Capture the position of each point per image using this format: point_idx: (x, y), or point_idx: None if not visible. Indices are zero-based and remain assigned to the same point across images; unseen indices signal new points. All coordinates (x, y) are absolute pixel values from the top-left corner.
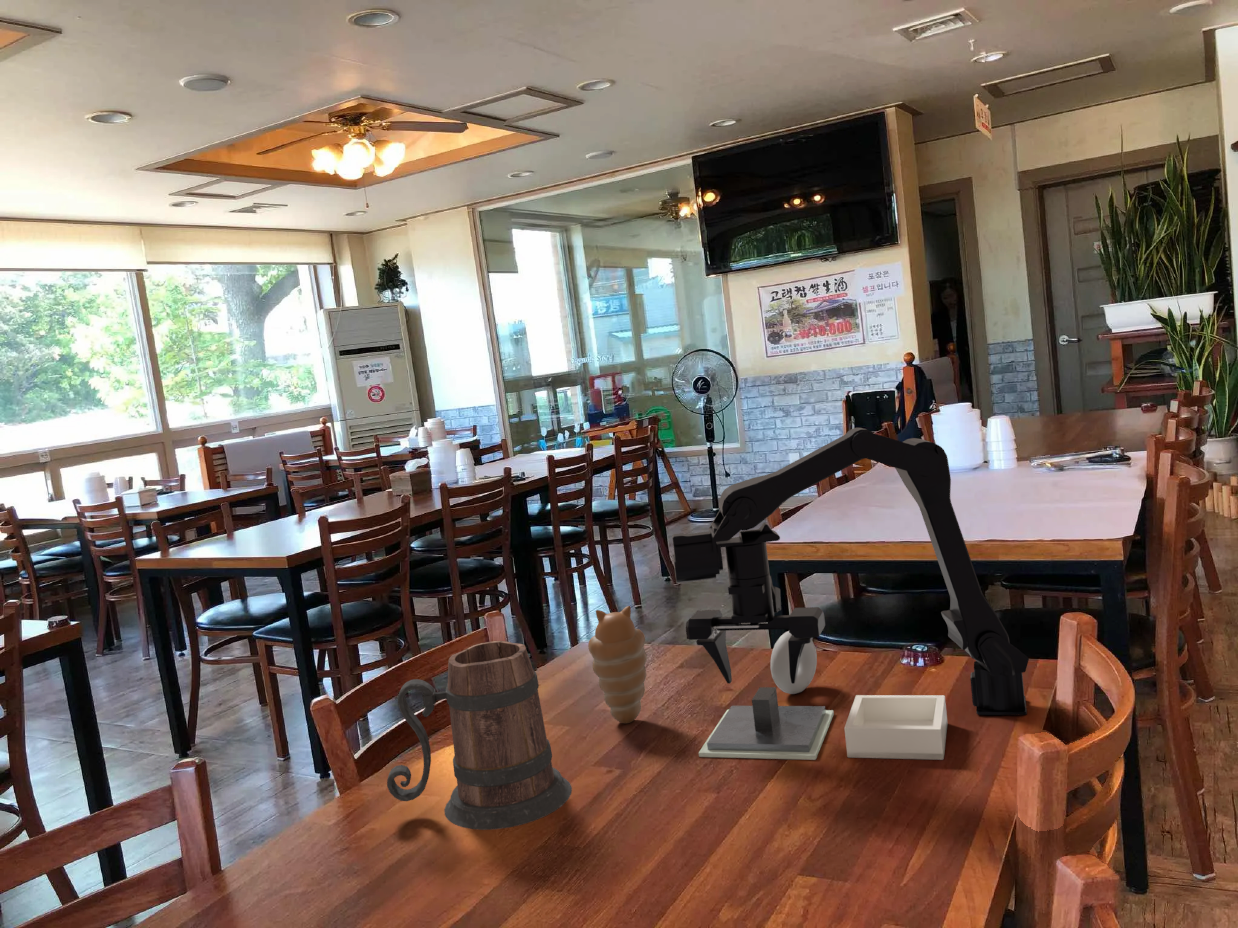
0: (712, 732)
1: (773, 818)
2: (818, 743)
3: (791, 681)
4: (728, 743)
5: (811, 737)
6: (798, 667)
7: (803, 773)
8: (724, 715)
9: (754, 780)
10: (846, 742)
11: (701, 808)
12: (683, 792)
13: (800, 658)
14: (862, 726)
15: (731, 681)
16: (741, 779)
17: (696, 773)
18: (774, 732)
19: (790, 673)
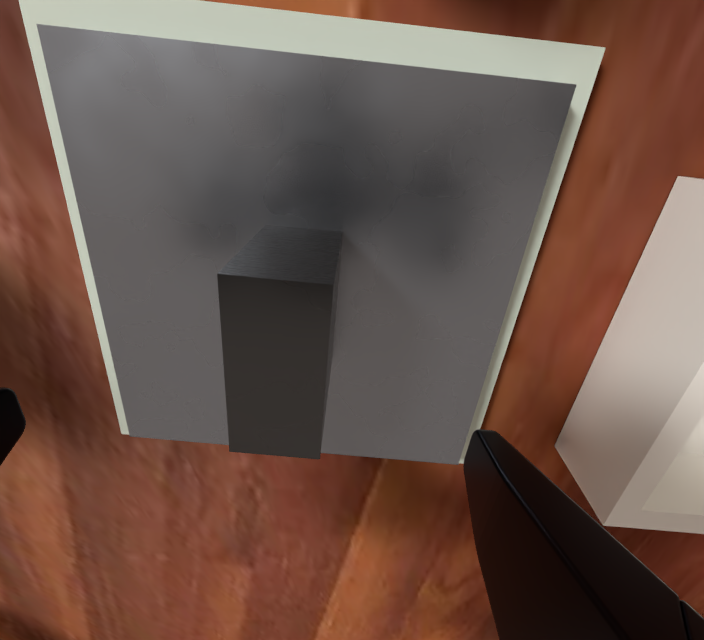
0: (90, 291)
1: (376, 628)
2: (485, 396)
3: (467, 484)
4: (202, 441)
5: (471, 418)
6: (574, 511)
7: (430, 509)
8: (45, 87)
9: (318, 530)
10: (577, 482)
11: (238, 604)
12: (177, 562)
13: (665, 591)
14: (668, 519)
15: (16, 398)
16: (287, 525)
17: (167, 500)
18: (341, 376)
19: (485, 566)
